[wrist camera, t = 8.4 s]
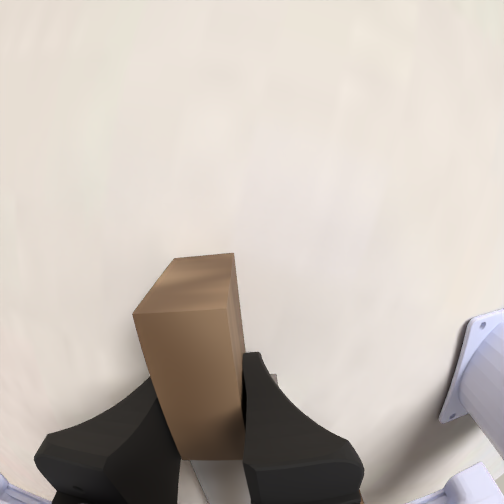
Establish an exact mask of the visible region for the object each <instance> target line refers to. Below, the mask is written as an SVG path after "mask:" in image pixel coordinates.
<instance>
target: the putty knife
mask: <svg viewBox="0 0 504 504" xmlns="http://www.w3.org/2000/svg"><path fill="white" fill-rule="evenodd" d="M132 315H133V319H134V322H135V326H136V330H137V334H138V337H139V341H140V344H141V348H142V351H143V354H144V358H145V361H146V364H147V367H148V370H149V373H150V377H151V380H152V383H153V386H154V388H155V391H156V394H157V397H158V400H159V403H160V405H161V408H162V411H163V414H164V416H165V419H166V421H167V424H168V427H169V429H170V432H171V434H172V437H173V439H174V442H175V444H176V446H177V449H178V451H179V453H180V456H181V458H182V460H190V462H191V464H192V467H193V469H194V471H195V474H196V476H197V478H198V480H199V483H200V485H201V487H202V489H203V491H204V494H205V496H206V498H207V500H208V502H209V504H251V498H250V494H249V490H248V485H247V481H246V477H245V472H244V468H243V463H242V461H243V453H244V444H245V431H246V412H247V395H246V388H245V381H244V373H243V366H242V360H243V353H246V352H245V344H244V336H243V328H242V319H241V311H240V303H239V294H238V285H237V276H236V268H235V259H234V253H227V254H216V255H206V256H195V257H184V258H174V259H173V261H172V262H171V263H170V264H169V266H168V267H167V268H166V270H165V271H164V272H163V273H162V275H161V276H160V277H159V279H158V280H157V281H156V283H155V284H154V285H153V287H152V288H151V289H150V291H149V292H148V293H147V295H146V296H145V297H144V299H143V300H142V301H141V303H140V304H139V305H138V307H137V308H136V309H135V311H134V312H133V314H132ZM271 377H272V378H273V380H274V381H275V383H276V384H277V386H278V382H277V375H276V374H271Z"/></svg>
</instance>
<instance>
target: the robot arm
mask: <svg viewBox="0 0 504 504" xmlns="http://www.w3.org/2000/svg"><path fill="white" fill-rule="evenodd" d="M242 366H243V373H244V381H245V388H246V395H247V412H246V431H245V444H244V453H243V461H242V463H243V468H244V472H245V477H246V481H247V485H248V490H249V494H250V498H251V504H360V502H361V496H360V493H359V488H360V485H361V482H362V479H363V476H364V467H363V464H362V462H361V460H360V458H359V456H358V454H357V453H356V451H355V449H354V448H353V447H352V445H351V444H350V442H349V441H348V440H346V439H344V438H342V437H340V436H337V435H335V434H333V433H331V432H330V431H328V430H326V429H325V428H323V427H321V426H320V425H318V424H317V423H316V422H314V421H313V420H312V419H310V418H309V417H308V416H306V415H305V414H304V413H303V412H301V411H300V410H299V409H298V408H297V407H296V406H295V405H294V404H293V403H292V402H291V401H290V400H289V399H288V398H287V397H286V396H285V394H284V393H283V392H282V391H281V389H280V388H279V387H278V386H277V384H276V383H275V381H274V380H273V378H272V377H271V375H270V374H269V372H268V370H267V368H266V366H265V364H264V362H263V360H262V357H261V354H260V353H259V352H250V353H243V360H242ZM468 413H469V414H470V415H471V417H472V418H473V419H474V421H475V422H476V423H477V425H478V426H479V427H480V429H481V430H482V431H483V433H484V434H485V435H486V437H487V438H488V439H489V441H490V442H491V443H492V445H493V446H494V448H495V449H496V450H497V452H498V453H499V454H500V456H501V457H502V459H503V460H504V309H500V310H497V311H494V312H491V313H487V314H484V315H481V316H477V317H474V318H472V319H471V320H470V322H469V323H468V326H467V329H466V334H465V338H464V342H463V345H462V349H461V353H460V357H459V360H458V363H457V367H456V370H455V373H454V376H453V380H452V383H451V386H450V389H449V391H448V394H447V397H446V400H445V403H444V405H443V408H442V411H441V413H440V416H439V421H440V423H442V424H443V423H446V422H449V421H451V420H454V419H456V418H459V417H461V416H463V415H466V414H468ZM180 460H181V456H180V453H179V451H178V449H177V446H176V444H175V442H174V439H173V437H172V434H171V432H170V429H169V427H168V424H167V421H166V419H165V416H164V414H163V411H162V408H161V405H160V403H159V400H158V397H157V394H156V391H155V388H154V386H153V383H152V380H151V377H149V378H148V379H147V380H146V381H145V382H144V383H143V384H142V385H140V386H139V387H138V388H137V389H136V390H135V391H133V392H132V393H131V394H130V395H129V396H127V397H126V398H125V399H124V400H122V401H121V402H119V403H118V404H116V405H115V406H113V407H112V408H110V409H109V410H107V411H105V412H103V413H102V414H100V415H98V416H96V417H94V418H92V419H90V420H88V421H86V422H84V423H81V424H79V425H76V426H74V427H71V428H68V429H65V430H61V431H58V432H54V433H50V434H48V435H47V436H46V438H45V439H44V441H43V443H42V444H41V446H40V448H39V449H38V451H37V453H36V454H35V456H34V461H35V464H36V466H37V468H38V469H39V471H40V472H41V473H42V475H43V476H44V477H45V478H46V479H47V480H48V481H49V483H50V484H51V485H52V486H53V487H54V488H55V489H56V490H57V492H56V494H55V497H54V499H53V501H49V500H47V499H44V498H42V497H39V496H37V495H34V494H32V493H30V492H27V491H25V490H23V489H21V488H19V487H16V486H14V485H12V484H10V483H9V482H8V481H7V479H6V478H5V477H4V476H3V475H2V474H1V473H0V504H177V494H178V479H179V469H180ZM405 504H504V495H503V494H502V492H501V491H500V489H499V487H498V486H497V484H496V483H495V481H494V479H493V478H492V476H491V475H490V473H489V472H488V470H487V468H486V467H485V465H484V464H483V462H478V463H476V464H474V465H473V466H471V467H469V468H467V469H465V470H463V471H461V472H459V473H457V474H455V475H454V476H452V477H451V478H450V479H449V480H448V481H447V483H446V485H445V486H444V488H443V489H441V490H438V491H436V492H434V493H431V494H429V495H426V496H424V497H421V498H419V499H416V500H414V501H411V502H408V503H405Z"/></svg>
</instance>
